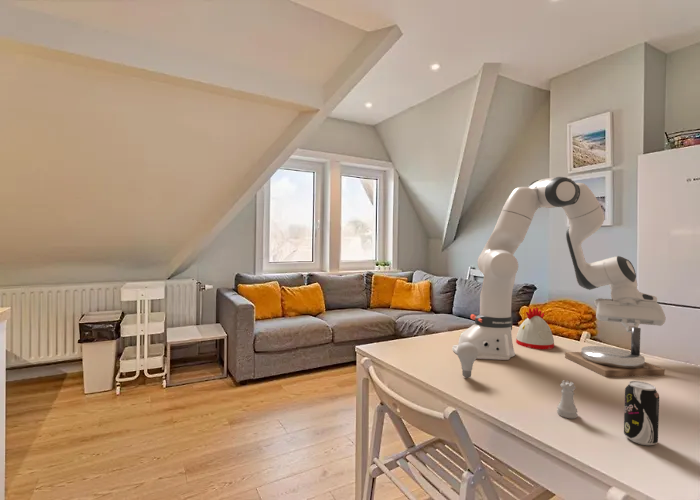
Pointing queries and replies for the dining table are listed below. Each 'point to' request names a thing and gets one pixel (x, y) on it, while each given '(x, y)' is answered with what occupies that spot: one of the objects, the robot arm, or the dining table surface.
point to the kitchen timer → (535, 332)
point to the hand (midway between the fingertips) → (632, 331)
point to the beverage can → (641, 413)
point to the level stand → (615, 371)
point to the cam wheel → (617, 354)
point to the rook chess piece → (567, 401)
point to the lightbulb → (467, 357)
